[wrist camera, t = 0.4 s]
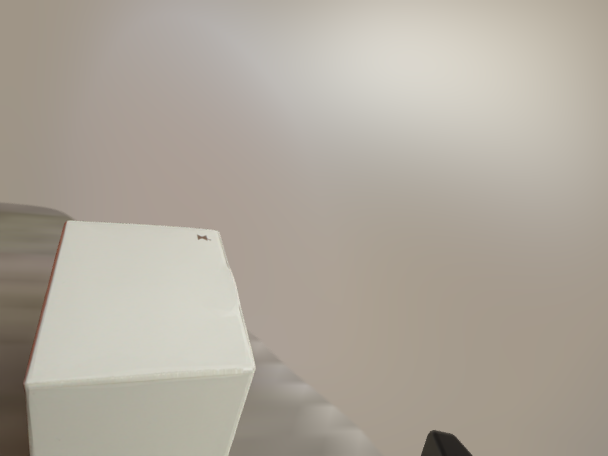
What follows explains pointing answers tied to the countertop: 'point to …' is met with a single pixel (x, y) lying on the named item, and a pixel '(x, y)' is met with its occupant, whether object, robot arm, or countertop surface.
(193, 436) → the small box
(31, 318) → the countertop surface
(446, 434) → the robot arm
